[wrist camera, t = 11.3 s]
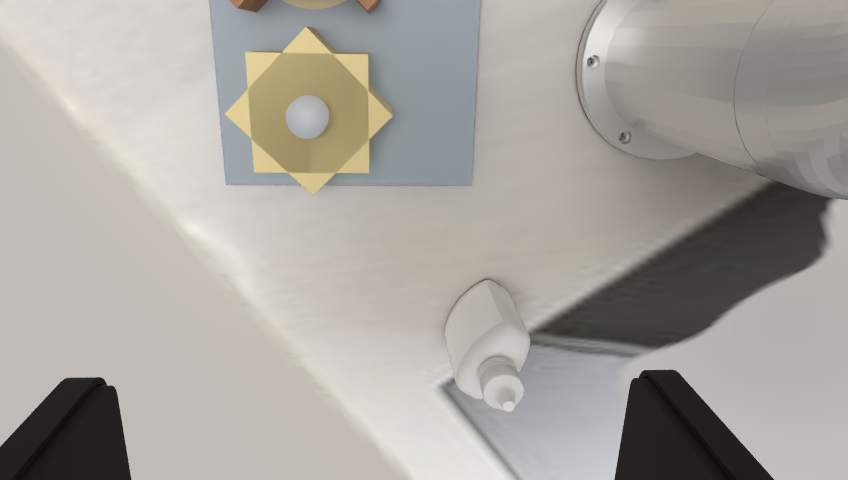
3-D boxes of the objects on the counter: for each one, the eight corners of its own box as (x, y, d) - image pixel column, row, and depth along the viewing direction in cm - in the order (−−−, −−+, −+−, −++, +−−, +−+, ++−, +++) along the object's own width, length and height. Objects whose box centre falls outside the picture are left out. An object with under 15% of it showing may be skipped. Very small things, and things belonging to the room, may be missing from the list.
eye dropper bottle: (429, 303, 43) (446, 396, 32) (498, 271, 43) (541, 355, 31) (453, 349, 45) (477, 455, 33) (520, 319, 44) (568, 416, 33)
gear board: (483, -158, 34) (508, -205, 27) (468, 180, 40) (485, 208, 34) (200, -171, 33) (155, -224, 26) (231, 179, 39) (201, 208, 33)
